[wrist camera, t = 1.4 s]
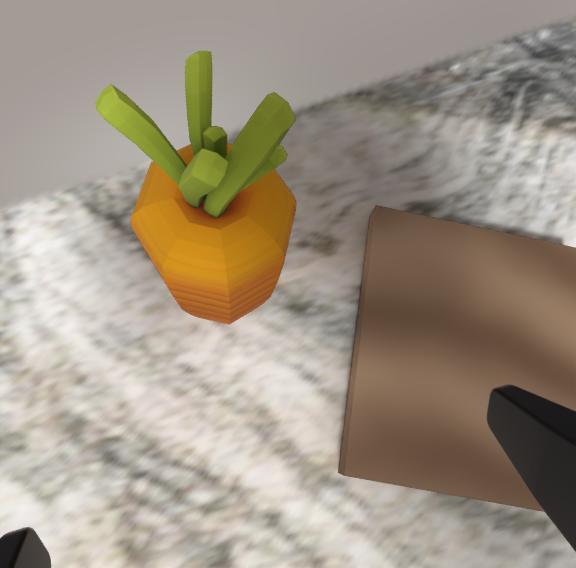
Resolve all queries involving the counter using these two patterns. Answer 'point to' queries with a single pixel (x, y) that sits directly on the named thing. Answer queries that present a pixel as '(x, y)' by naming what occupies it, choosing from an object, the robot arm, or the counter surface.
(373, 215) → the walnut board
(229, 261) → the carrot
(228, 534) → the counter surface
